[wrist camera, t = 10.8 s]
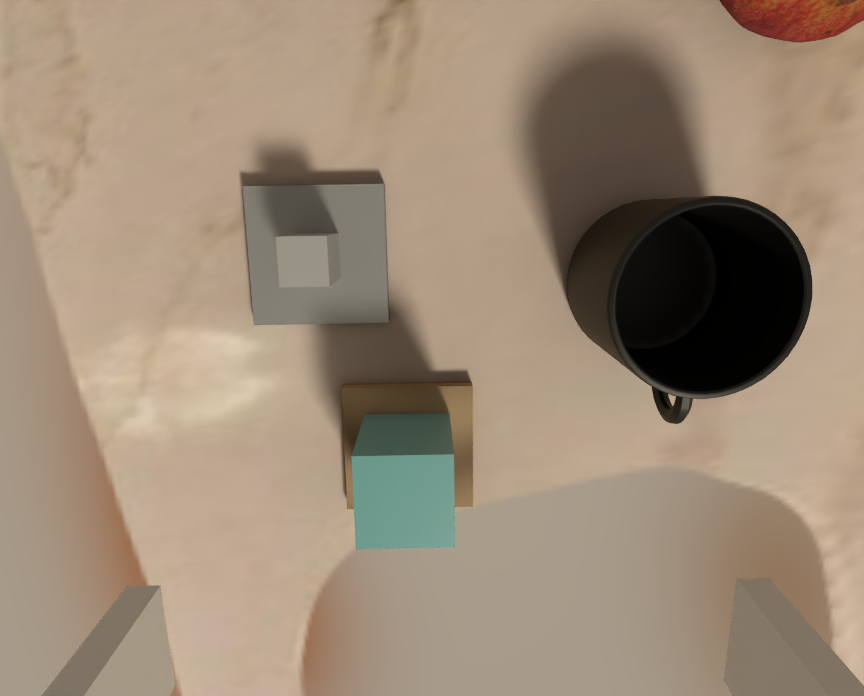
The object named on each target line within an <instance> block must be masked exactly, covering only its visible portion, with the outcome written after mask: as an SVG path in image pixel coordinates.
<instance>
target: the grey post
mask: <svg viewBox="0 0 864 696" xmlns="http://www.w3.org/2000/svg"><path fill="white" fill-rule="evenodd" d="M243 196H244V209H245V221H246V233H247V246H248V258H249V271H250V283H251V295H252V308H253V320H254V325H285V324H341V323H388V322H389V300H388V269H387V238H386V208H385V184H339V185H282V186H243Z"/></svg>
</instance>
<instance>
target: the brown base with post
mask: <svg viewBox="0 0 864 696" xmlns="http://www.w3.org/2000/svg"><path fill="white" fill-rule="evenodd" d="M341 394H342V413H343V433H344V452H345V472H346V492H347V509H354V497H353V476H352V453H353V450H354V447H355V444H356V440H357V437H358V434H359V431H360V428H361V425H362V421H363V418H364V415H365V414H417V413H450V421H451V431H452V440H453V449H454V500H455V507H473V387H472V382H460V383H405V384H350V385H343V386H342V388H341Z"/></svg>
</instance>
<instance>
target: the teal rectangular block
mask: <svg viewBox="0 0 864 696" xmlns="http://www.w3.org/2000/svg"><path fill="white" fill-rule="evenodd" d="M352 476H353V497H354V517H355V538H356V549H389V548H441V547H455V500H454V449H453V440H452V431H451V421H450V413H417V414H365V415H364V418H363V421H362V425H361V428H360V431H359V434H358V437H357V440H356V444H355V447H354V450H353V453H352Z"/></svg>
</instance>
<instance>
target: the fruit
mask: <svg viewBox="0 0 864 696" xmlns="http://www.w3.org/2000/svg"><path fill="white" fill-rule="evenodd" d="M720 1H721V3H722V5H723V6H724V7H725V9H726V10H727V11H728V12H729V14H730V15H731V16H732V17H733V18H734V19H735V20H736V21H737V22H738V23H739V24H740V25H741V26H742V27H744V28H745V29H747V30H749V31H751V32H754V33H756V34H759V35H762V36H765V37H770V38H774V39H779V40H784V41H790V42H809V41H816V40H821V39H825V38H829V37H833V36H836V35H838V34H840V33H842V32H844V31H846V30H847V29H849V28H851V27H852V26H854V25H855V24H857V23H859V22H861V21H863V20H864V0H720Z"/></svg>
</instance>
